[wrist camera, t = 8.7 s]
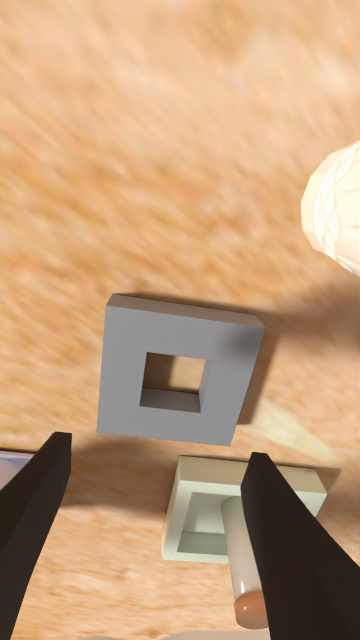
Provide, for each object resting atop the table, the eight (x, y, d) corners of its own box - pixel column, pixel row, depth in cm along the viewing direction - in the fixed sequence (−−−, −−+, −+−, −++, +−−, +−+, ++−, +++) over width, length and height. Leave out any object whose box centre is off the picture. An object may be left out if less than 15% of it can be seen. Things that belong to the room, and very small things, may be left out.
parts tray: (162, 531, 30) (161, 559, 28) (179, 455, 26) (180, 480, 24) (280, 540, 31) (289, 567, 29) (314, 469, 27) (327, 493, 25)
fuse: (218, 518, 28) (233, 629, 21) (221, 495, 27) (239, 606, 20) (251, 518, 28) (278, 629, 21) (256, 495, 27) (286, 605, 20)
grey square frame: (102, 412, 24) (96, 432, 22) (112, 293, 20) (105, 305, 18) (224, 425, 25) (229, 446, 23) (256, 314, 21) (265, 328, 19)
